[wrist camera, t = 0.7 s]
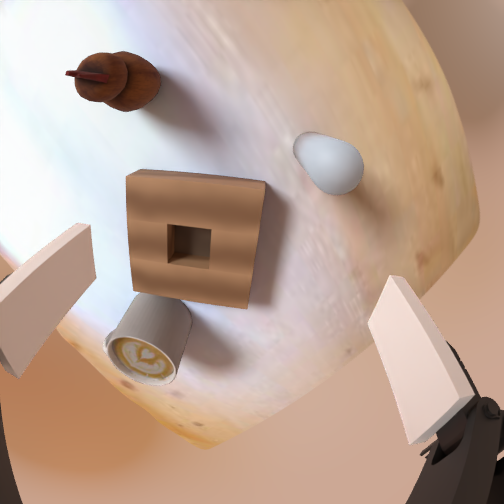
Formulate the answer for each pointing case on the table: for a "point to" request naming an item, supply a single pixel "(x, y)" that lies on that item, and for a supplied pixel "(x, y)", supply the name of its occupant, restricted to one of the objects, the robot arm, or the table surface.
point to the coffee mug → (150, 339)
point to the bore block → (193, 235)
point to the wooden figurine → (117, 80)
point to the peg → (329, 162)
